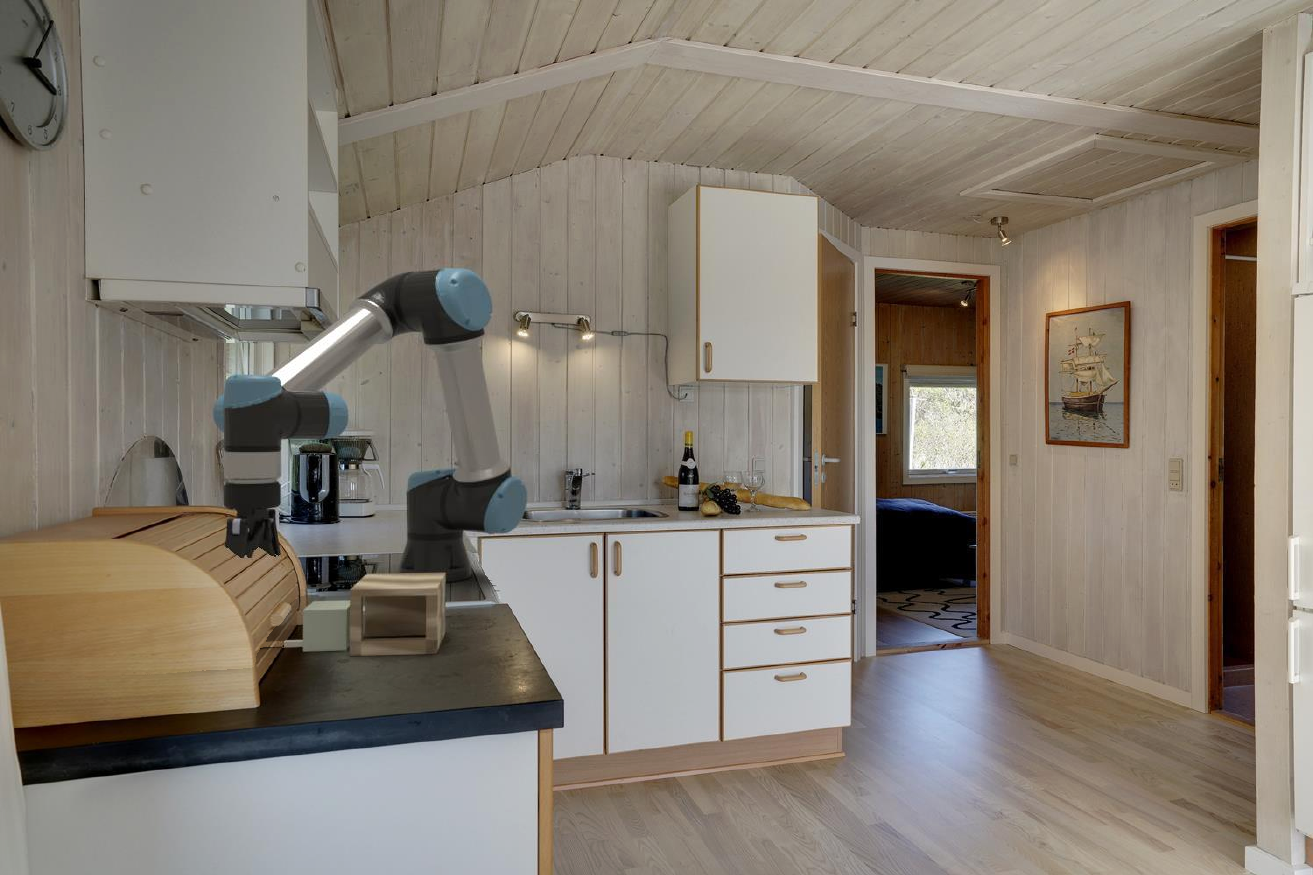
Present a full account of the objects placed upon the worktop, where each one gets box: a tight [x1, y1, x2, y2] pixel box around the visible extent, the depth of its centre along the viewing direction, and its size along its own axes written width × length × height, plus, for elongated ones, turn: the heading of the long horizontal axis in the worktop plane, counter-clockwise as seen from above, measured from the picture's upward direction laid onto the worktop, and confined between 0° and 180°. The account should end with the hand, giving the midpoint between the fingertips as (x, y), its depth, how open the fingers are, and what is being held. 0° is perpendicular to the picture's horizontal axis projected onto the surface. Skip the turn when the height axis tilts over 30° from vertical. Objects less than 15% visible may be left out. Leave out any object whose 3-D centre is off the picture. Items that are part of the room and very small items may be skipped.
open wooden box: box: [349, 572, 447, 657], centre depth 124 cm, size 12×12×10 cm
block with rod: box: [283, 599, 350, 652], centre depth 122 cm, size 6×15×11 cm, turn 99°
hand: (252, 625), depth 121 cm, fingers open, 13 cm apart
